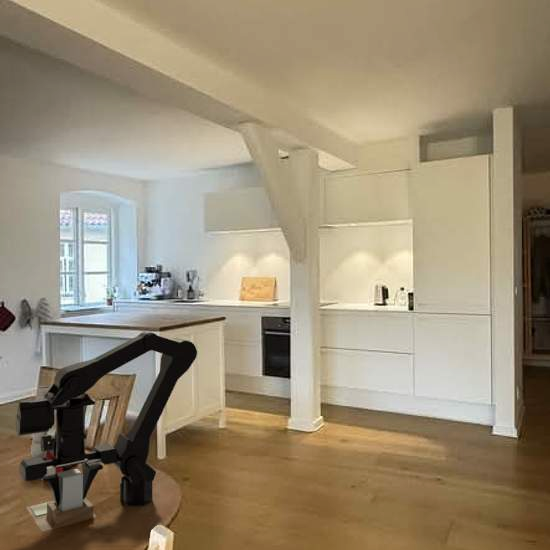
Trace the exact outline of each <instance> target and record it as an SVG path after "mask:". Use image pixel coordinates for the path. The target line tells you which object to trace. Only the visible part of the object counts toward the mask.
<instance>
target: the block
mask: <svg viewBox="0 0 550 550" xmlns="http://www.w3.org/2000/svg"><path fill="white" fill-rule="evenodd" d="M58 476H59V488H60V504H59V506H58V510H59V511H60V512H63V511H67V510H71V509H75V508H79V507H83V474H82V472H81V471H80V470H79V468H78V469H73V470H68V471H64V472H59V473H58Z"/></svg>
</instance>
